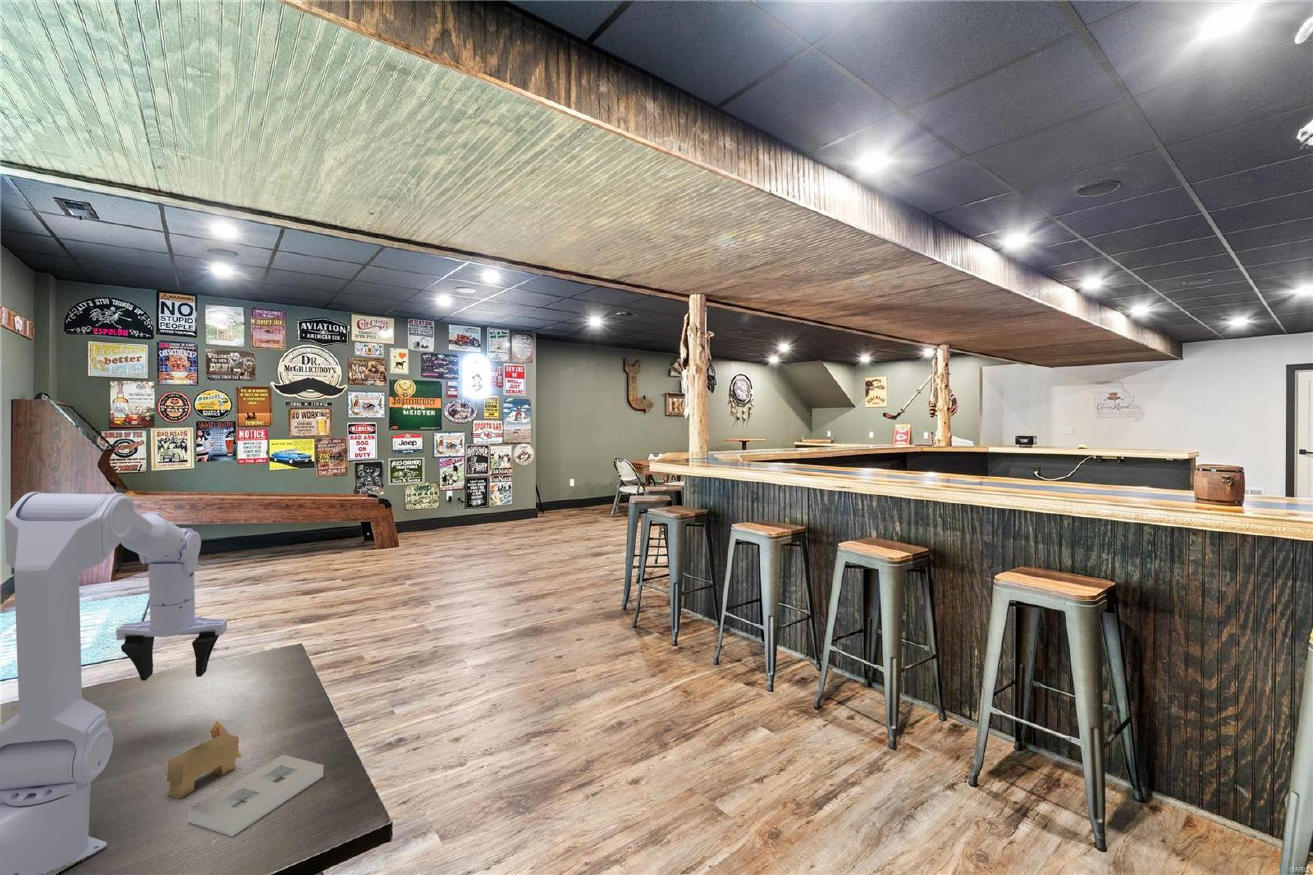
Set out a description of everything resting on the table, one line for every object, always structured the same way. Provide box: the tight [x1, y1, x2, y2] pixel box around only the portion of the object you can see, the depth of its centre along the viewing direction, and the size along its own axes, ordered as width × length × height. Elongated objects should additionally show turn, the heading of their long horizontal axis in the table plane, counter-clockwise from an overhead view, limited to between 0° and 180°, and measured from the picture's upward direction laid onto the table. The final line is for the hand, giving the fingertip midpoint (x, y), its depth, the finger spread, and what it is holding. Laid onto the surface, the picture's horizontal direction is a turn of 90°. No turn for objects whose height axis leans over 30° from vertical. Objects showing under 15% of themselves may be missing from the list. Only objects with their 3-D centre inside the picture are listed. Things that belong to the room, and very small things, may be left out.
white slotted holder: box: [187, 754, 324, 837], centre depth 82 cm, size 14×8×2 cm, turn 164°
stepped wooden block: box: [166, 733, 240, 800], centre depth 86 cm, size 8×3×5 cm, turn 164°
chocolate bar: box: [209, 720, 243, 760], centre depth 96 cm, size 3×12×2 cm, turn 48°
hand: (174, 675), depth 97 cm, fingers open, 7 cm apart
